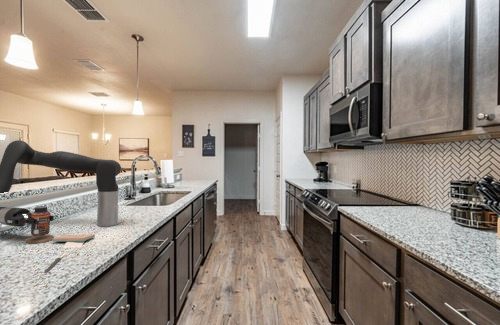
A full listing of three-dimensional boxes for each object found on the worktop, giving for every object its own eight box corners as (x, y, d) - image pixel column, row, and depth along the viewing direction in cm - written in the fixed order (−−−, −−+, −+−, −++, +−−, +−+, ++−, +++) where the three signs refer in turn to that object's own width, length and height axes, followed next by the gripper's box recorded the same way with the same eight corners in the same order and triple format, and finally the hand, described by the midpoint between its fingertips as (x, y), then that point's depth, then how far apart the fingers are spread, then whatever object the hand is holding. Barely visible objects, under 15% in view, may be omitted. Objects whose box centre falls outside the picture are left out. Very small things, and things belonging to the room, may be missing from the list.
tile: (52, 238, 103) (82, 238, 103) (66, 234, 111) (94, 234, 111) (52, 241, 103) (82, 241, 103) (66, 237, 111) (94, 237, 111)
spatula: (85, 243, 106) (85, 240, 106) (57, 273, 78) (57, 268, 78) (67, 244, 104) (67, 241, 104) (32, 276, 76) (32, 271, 76)
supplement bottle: (38, 237, 103) (39, 209, 103) (27, 235, 105) (27, 207, 104) (53, 233, 109) (53, 206, 109) (42, 231, 110) (42, 204, 110)
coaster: (57, 236, 112) (57, 234, 112) (49, 242, 104) (49, 240, 104) (31, 238, 109) (31, 236, 109) (21, 244, 101) (21, 242, 101)
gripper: (-7, 210, 103) (26, 214, 99) (32, 204, 117) (61, 207, 113) (-7, 229, 103) (25, 233, 99) (31, 221, 117) (61, 225, 113)
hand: (44, 220), depth 106 cm, fingers closed on supplement bottle, 6 cm apart
